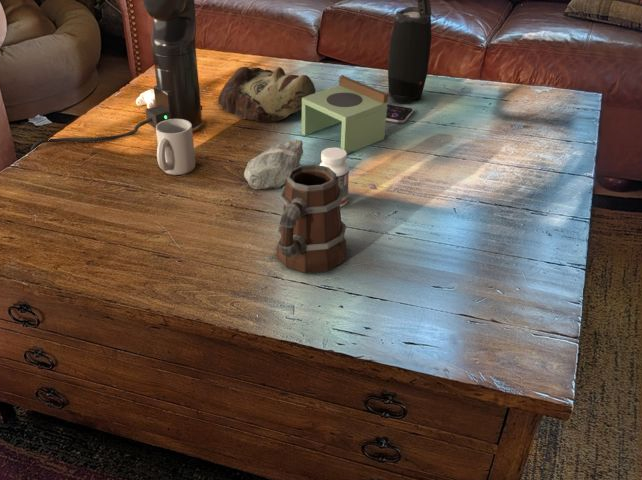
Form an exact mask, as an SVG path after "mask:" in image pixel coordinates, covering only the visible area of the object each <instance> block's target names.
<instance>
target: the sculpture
mask: <svg viewBox="0 0 642 480" xmlns="http://www.w3.org/2000/svg"><path fill="white" fill-rule="evenodd" d="M314 93H317V92H316V87H315V84H314V82H313V81H312V79H311V77H309V75H307V74H299V75H296V74H286V72H285V69H283V68H282V67H281V66H277V67H275V68H274V69H273V70H271V69H264V68H261V67H251V68H249V67H247V66H240V67H239V68H237V69H236V70H235V73H234V74H233V75H232V76H231V77H230V78H229V79H228V80H227V81H226V83H225V84H224V86H223V87H222V89H221V90H220V92H219V95H218V101H217V103H218V104H219V105H221V108H222V110H223V111H226V112H228V113H230V114H234V115H235V116H236V117H237V118H240V119H242V120H250V121H258V122H263V123H270V122H272V123H276V122H278V121H282V120H284V119H287V117H288V116H290V115H292V114H294V113H297V112H298V111H300V110H302V98H303V97H306V96H309V95H311V94H314Z"/></svg>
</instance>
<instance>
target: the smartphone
mask: <svg viewBox="0 0 642 480" xmlns="http://www.w3.org/2000/svg"><path fill="white" fill-rule="evenodd" d="M413 113H414V109H413V108H411V107H407V106H402V105H395V104H389V103H387V113H386V122H393V123H400V124H401V123H405V122H406V121H407V120H408V119H409V118H410V117H411V116H412V114H413Z"/></svg>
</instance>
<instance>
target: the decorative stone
mask: <svg viewBox="0 0 642 480" xmlns="http://www.w3.org/2000/svg"><path fill="white" fill-rule="evenodd" d="M303 145H304V143H303V141H302V140H301V139H300V140H299V139H297V140H289V141H282V142H279V143H278V144H273V145H272V146H270V147H268V148H267V149H265V150H264V151H262V152H260V153H259V154H258V155H256V156H255V157H253V158H251V159H249V160H248V162H247V165H246V167H245V169H244V172H243V177H244V179H245V180H246V182H247V184H248V187H250V188H252V189H254V190H267V189H278V188H281V187H282V186H285V184H286V180H287V177H288V175H289V173H290V171H291V170H293V169H295V168H297V167H299V165H300V162H301V159H302V156H303V154H304V147H303Z"/></svg>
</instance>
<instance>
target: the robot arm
mask: <svg viewBox="0 0 642 480" xmlns="http://www.w3.org/2000/svg"><path fill="white" fill-rule="evenodd" d="M443 1H444V2H452V1H453V0H443ZM141 2H142V5H143V7H144V9H145V11H146V12H147V13H148V15H149V16H151V18H152V32H151V38H150V42H151V49H152V50H151V51H152V57H153V64H154V65H153V66H154V73H155V80H156V85H154V86H153V89H154V95H155V103H156V107H153V108H149V109H148V108H147V109H145V117H146V119H145V120H143V121H140V122H138V123H137V124H136V125H135V126H134V128H133V129H132V130H130V131H128V132H126V133H122V134H117V135H109V136H99V137H98V136H97V137H59V138H43V139H39V140H37V141H36V142H35V143H34V144H33V145H31V147H30V151H31V150H32V151H33V150H36V149H37V147H38V146H40V145H41V144H46V143H63V142H82V143H83V142H84V143H85V142H90V143H91V142H92V143H93V142H100V141H101V142H103V141H111V140H116V139H121V138H123V137H127V136H132V135H134V134H136V133H137V132H138V130H139V129H140V128H141V127H142V126H145V125H147V124H148V125H149V126H151V127H153V128H154V129H156V125H157V124H158V123H160V122H162V121H165V120H169V119H184V120H187V121H189V122H190V123H191V125H192V133H193V134H194V133H197V132H198V131H200V130H201V129H202V128H203V126H204V120H203V115H202V112H203V106H202V104H201V103H202V102H201V93H200V81H199V71H198V59H197V58H198V57H197V49H196V35H197V33H196V32H197V19H196V18H197V16H196V3H195V0H142V1H141ZM416 2H417V7H418V9H419V15H420V17H421V18H427V17H430V16H431V17H432V14H433V13H432V5H431V0H416ZM49 139H50V140H49ZM48 140H49V141H48Z"/></svg>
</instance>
